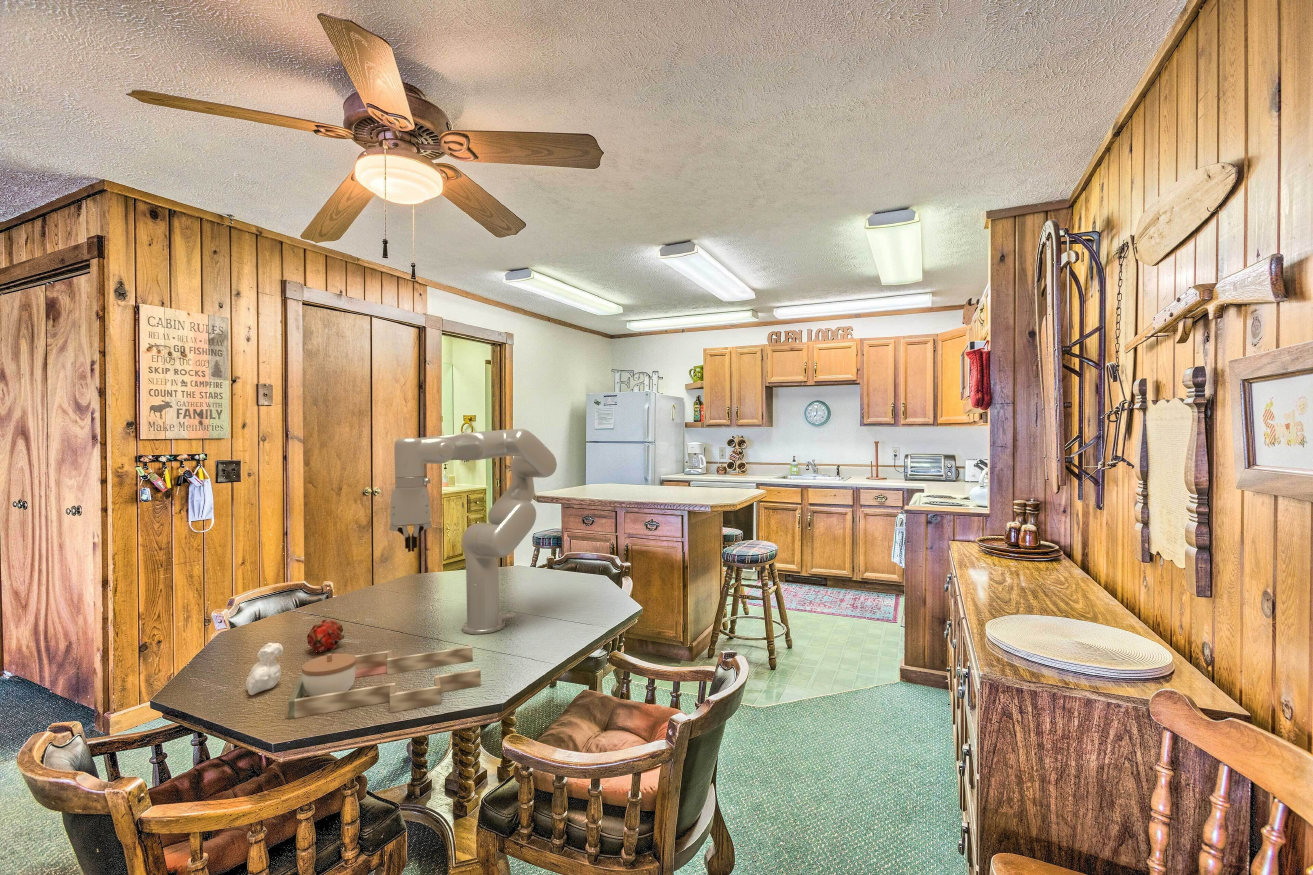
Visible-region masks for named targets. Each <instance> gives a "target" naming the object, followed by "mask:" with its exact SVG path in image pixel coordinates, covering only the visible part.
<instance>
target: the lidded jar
mask: <svg viewBox="0 0 1313 875" xmlns="http://www.w3.org/2000/svg"><path fill="white" fill-rule="evenodd" d="M356 656H357V655H354V654H351V653H333V654H332V653H327V654H326V655H322V656H319V657H315V658H313V659H310V660H308V661H306V662H304V664H303V665H302V666H301V673H302V677H303V685H304V688H305V693H306V694H307V695H308V697H311V696H317V695H324V694H330V693H336V692H342V691H348V690H351V688H352V686H353V684H354V682H355V680H356V678H355V674H356V661H357V659H356Z"/></svg>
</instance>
